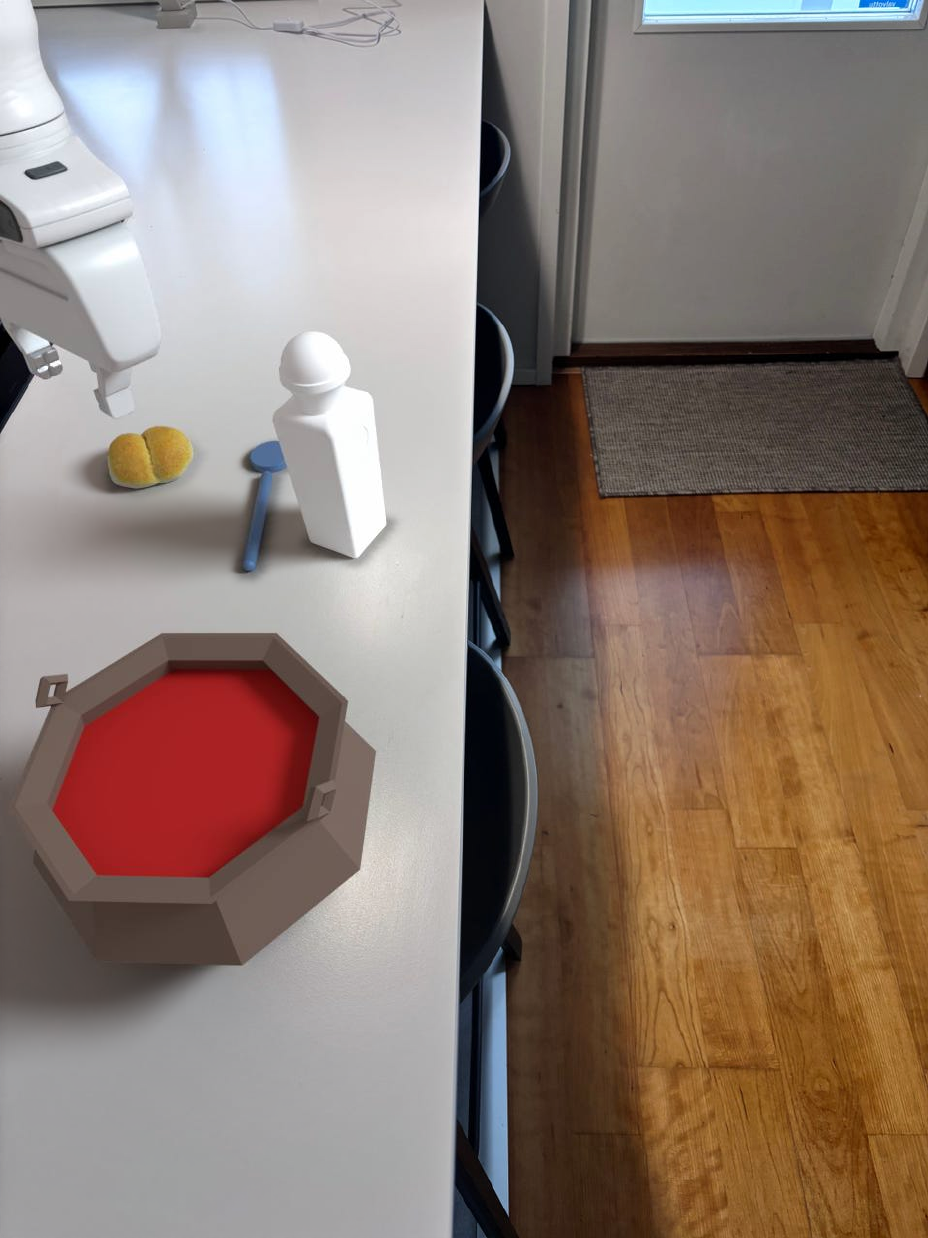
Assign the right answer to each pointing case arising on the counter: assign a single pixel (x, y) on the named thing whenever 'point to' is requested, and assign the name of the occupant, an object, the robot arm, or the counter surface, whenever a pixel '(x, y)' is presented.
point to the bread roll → (149, 457)
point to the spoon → (262, 495)
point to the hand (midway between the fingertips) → (82, 392)
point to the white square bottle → (330, 446)
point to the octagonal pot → (194, 798)
